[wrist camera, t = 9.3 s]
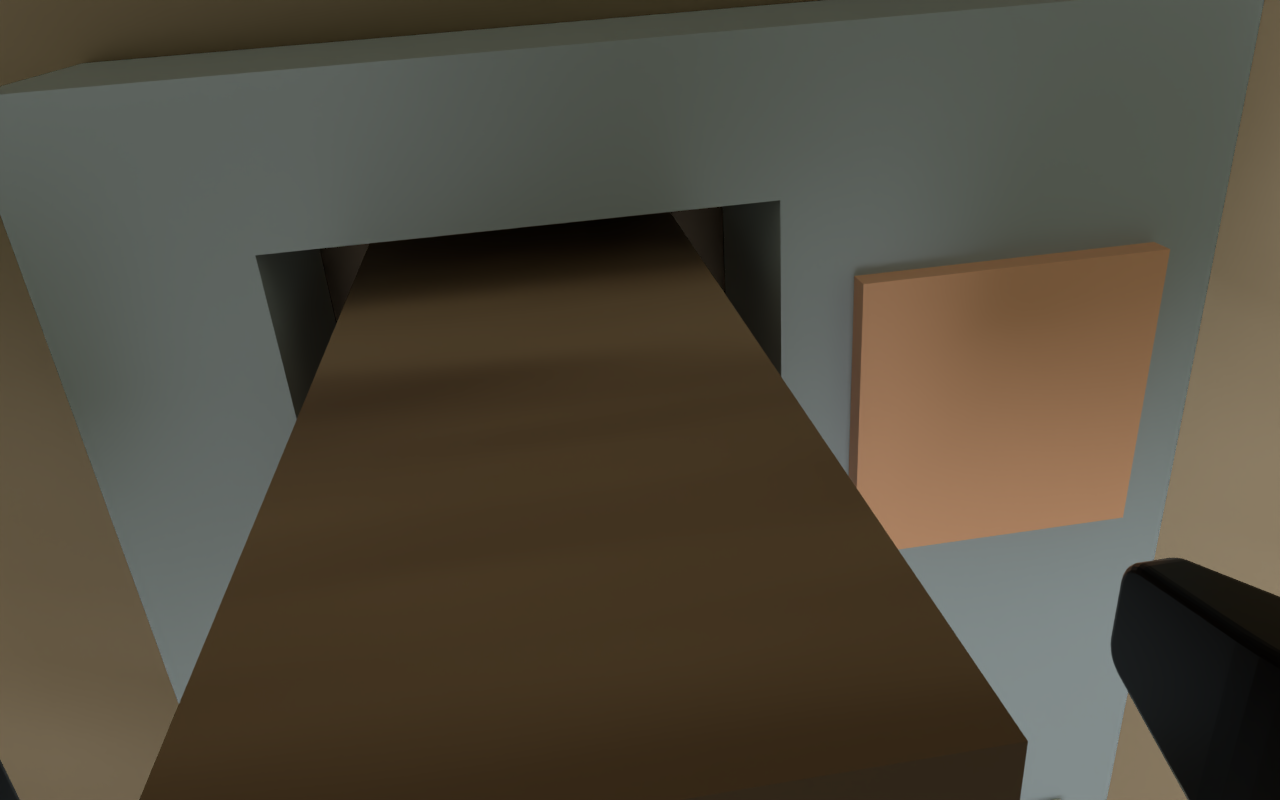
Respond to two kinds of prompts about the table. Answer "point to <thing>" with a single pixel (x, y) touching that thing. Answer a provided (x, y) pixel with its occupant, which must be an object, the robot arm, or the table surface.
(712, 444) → the peg
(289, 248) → the socket block
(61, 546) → the table surface
